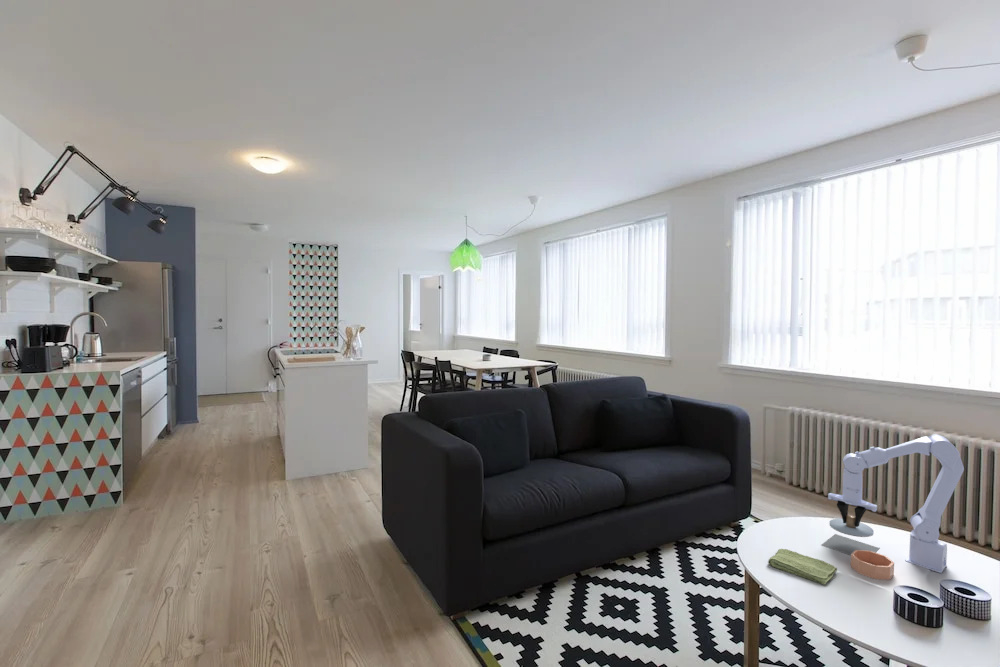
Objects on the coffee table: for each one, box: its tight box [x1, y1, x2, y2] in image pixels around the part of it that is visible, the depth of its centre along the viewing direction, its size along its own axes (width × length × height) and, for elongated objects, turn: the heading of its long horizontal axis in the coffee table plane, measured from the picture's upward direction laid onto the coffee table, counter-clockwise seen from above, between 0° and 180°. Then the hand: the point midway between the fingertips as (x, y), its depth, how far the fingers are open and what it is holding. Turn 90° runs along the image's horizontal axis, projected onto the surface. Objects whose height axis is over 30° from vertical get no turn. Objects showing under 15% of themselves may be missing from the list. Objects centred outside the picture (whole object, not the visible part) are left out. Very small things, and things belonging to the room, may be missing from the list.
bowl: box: [850, 550, 895, 581], centre depth 162 cm, size 11×11×4 cm
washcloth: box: [767, 548, 838, 586], centre depth 164 cm, size 13×18×3 cm
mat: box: [821, 533, 881, 556], centre depth 178 cm, size 14×14×1 cm
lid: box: [828, 514, 874, 538], centre depth 177 cm, size 13×13×4 cm
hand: (851, 524), depth 177 cm, fingers closed on lid, 3 cm apart
